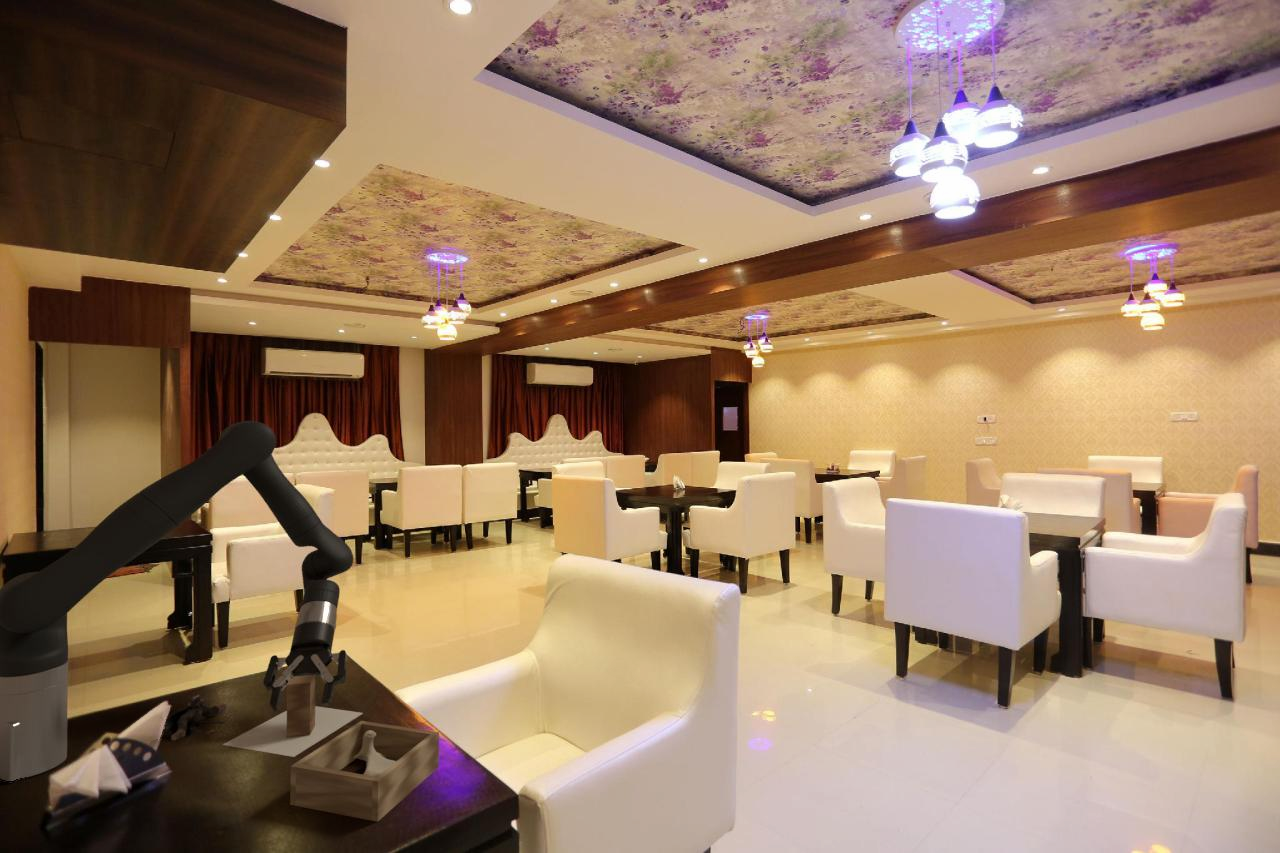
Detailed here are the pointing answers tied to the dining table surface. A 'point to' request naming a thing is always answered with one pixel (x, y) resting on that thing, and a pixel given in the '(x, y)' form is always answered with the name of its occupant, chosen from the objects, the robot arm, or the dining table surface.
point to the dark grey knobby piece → (191, 718)
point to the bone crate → (358, 793)
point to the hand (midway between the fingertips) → (300, 707)
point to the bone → (372, 756)
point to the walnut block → (300, 706)
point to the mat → (275, 737)
